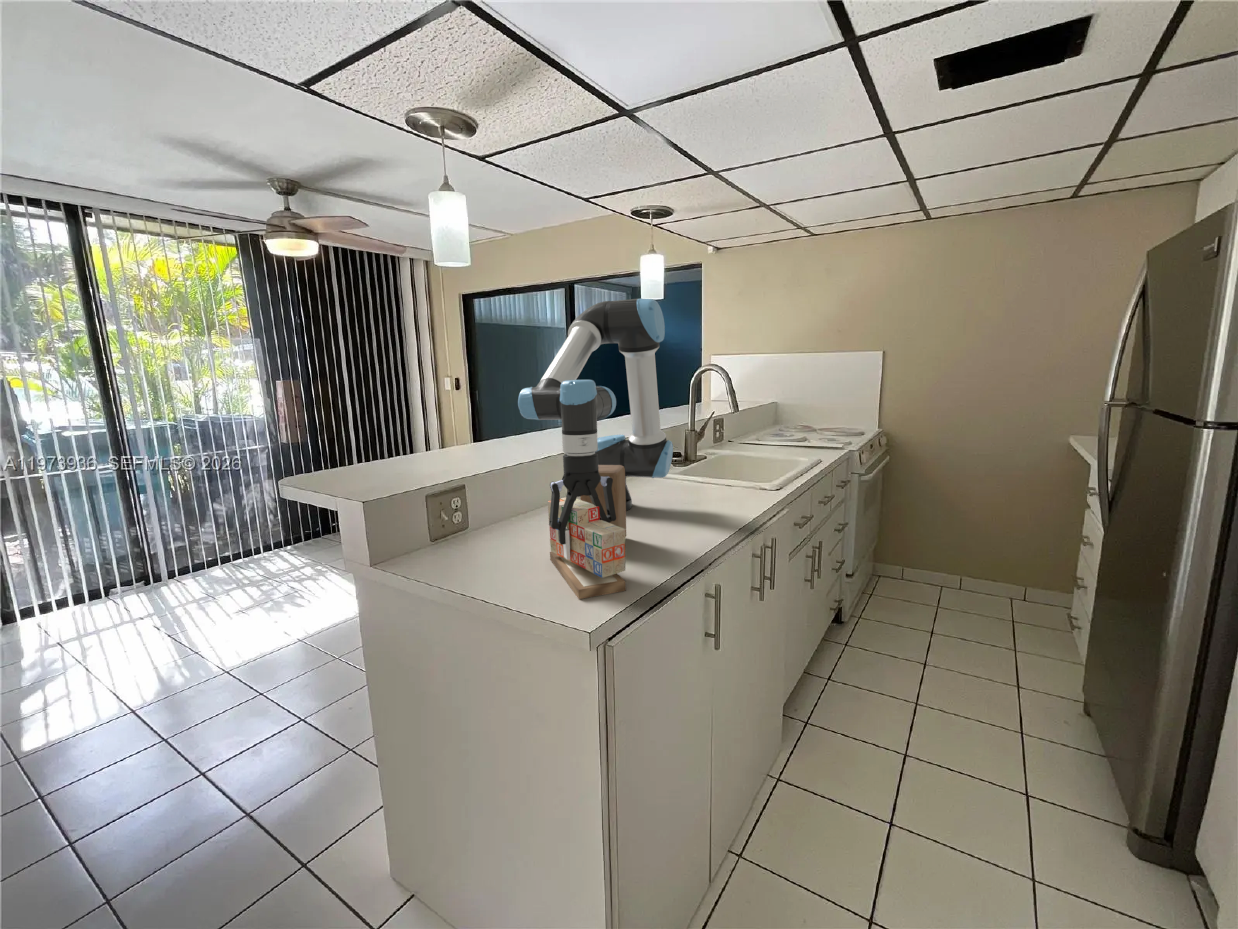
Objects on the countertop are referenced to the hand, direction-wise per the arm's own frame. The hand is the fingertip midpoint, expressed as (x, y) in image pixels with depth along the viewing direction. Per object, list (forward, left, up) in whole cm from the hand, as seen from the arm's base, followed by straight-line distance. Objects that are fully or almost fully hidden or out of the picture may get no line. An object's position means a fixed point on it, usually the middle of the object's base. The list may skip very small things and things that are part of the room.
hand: (584, 554), depth 119 cm
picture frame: (0, 0, -5) cm, 5 cm away
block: (-11, -18, -5) cm, 22 cm away
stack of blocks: (0, +1, -1) cm, 2 cm away
